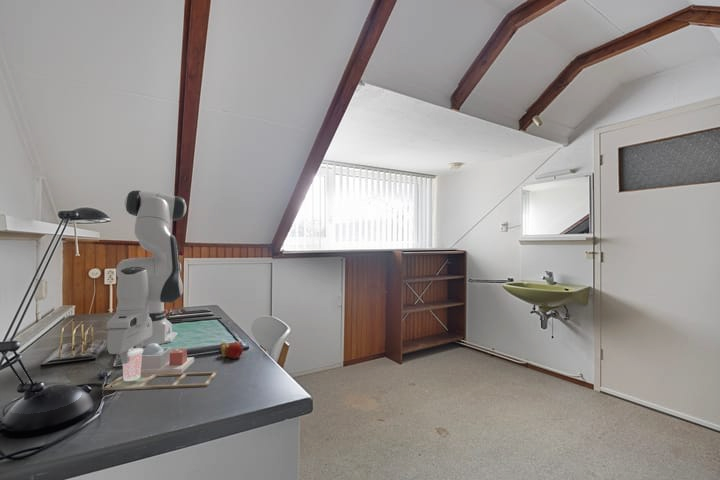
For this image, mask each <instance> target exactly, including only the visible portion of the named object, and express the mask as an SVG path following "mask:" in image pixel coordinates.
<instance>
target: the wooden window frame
mask: <svg viewBox="0 0 720 480" xmlns="http://www.w3.org/2000/svg"><path fill="white" fill-rule="evenodd" d="M203 375H204V376H206V375H207V376H208V375H209V378H208V379H207V380H206V381H205V382H204V383H203V382H202V383H182V384H181V383H180V382H182V380H183V379H185V377H187V376H203ZM216 375H218V371H200V372H198V371H196V372H195V371H193V372H192V371H191V372H182V373H161V374H140V378H139V379H137V380H133V381H124V379H123V374H122V375H121V376H119V377H117V378H116V379H114V380H112V382H110V383H109V384H107V385H106V386H104V387H103V388H104V390H103V391H118V390H121V391H123V390H146V389H148V390H149V389H170V388H171V389H173V388H199V387H204V388H205V387H208V386H209V384H210V383H211V382H212V381H213V379H215V377H216ZM179 376H180V377H179ZM155 377H156V378H157V377H178V378H177V379H176V380H175V381H174V382H173V383H172V384H152V385H151V384H150V385H147V384H149V383H150V382H151V381H152V380H153V379H155ZM111 386H112V387H111Z"/></svg>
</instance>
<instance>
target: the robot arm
mask: <svg viewBox="0 0 720 480" xmlns="http://www.w3.org/2000/svg"><path fill="white" fill-rule="evenodd" d="M124 207H125V209H126V212H127V213H128V214H129V215H132V216H133V217H134V216H135V217H136V218H135V223H134V235H135V237H136V239H137V240H138V242H139V246H140V247H141V248H142V249H144V250H145V251H147V252H149V253H151V254H152V256H151V257H131V258H126V259H122V260H120V262H119V263H118V264H117V265H116V270H115V272H116V276H117V282H116V299H117V305H116V311H115V313H114V315H112V317H110V319H109V320H108V321H107V322H106V329H108V331H107V335H106V336H107V337H106V338H107V340H106V341H107V345H106V346H107V351H108V353H109V354H110V355H119V357H120V359H121V364H122V365H123V364H126V363H128V362H129V361H130V357H128V352H129V349H131V348H132V347H133V348H142V349H144V348H145V347H146V346H147V345H149V344H151V343H157V344H159V345H162V344H163V345H164V344H167V343H169V344H170V343H172V342H173V341H174V340H175V338H176V337H177V336H178V332H176V331H173V325H172V322H170V321H169V320H168V319H167V318H166V317H167V316H166V314H168V309H167V308H166V309H165V303H168V304H173V303H174V302H176V301H177V300H179V299H180V298H181V297H182V296H183V292H184V284H183V281H182V274H181V272H182V264H181V262H180V254H179V252H180V251H179V245H178V241H177V239H176V236H175V235H173V234H171V232H170V225H171V224H170V223H171V220H172V222H173V221H179V220H182V219H183V218H184V216H185V215H186V212H187V203H186V200H185V199H184V197H181V196H179V195H173V194H169V193H164V192H156V191H155V192H154V191H141V190H131V191H129V192H128V194H127V195H126V197H125V200H124Z"/></svg>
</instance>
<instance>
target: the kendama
mask: <svg viewBox="0 0 720 480" xmlns="http://www.w3.org/2000/svg"><path fill="white" fill-rule="evenodd" d="M219 347H220V352H221V355H222V357H223V358H226V357H228V358H230V359H231V360H232V359H234V360H235V359H238V358H240V357H241V356H242V354H243V346H242V345H241V343H240V342H239V341H235V342H233V343H231V344H228V343H227V342H226V341H224V342H223V341H222V342H221V344H220V345H219Z"/></svg>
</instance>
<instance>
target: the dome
mask: <svg viewBox="0 0 720 480" xmlns="http://www.w3.org/2000/svg"><path fill="white" fill-rule="evenodd" d="M161 347H162V346H161V344H157V343H151V344H149V345H147V346H146V347H144V348H145V349H144V348H143V349H144V351H143V353H142V355H159V354H161V353H162V352H164V349H162V348H161Z"/></svg>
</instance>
